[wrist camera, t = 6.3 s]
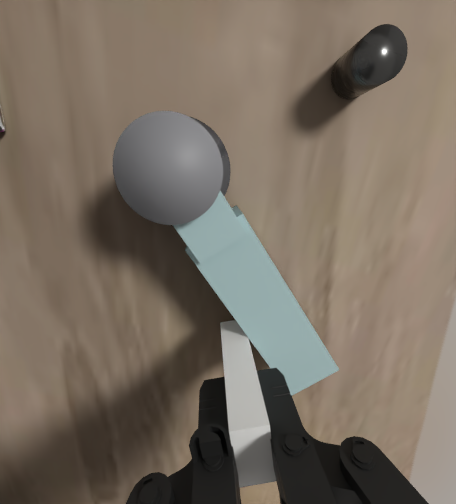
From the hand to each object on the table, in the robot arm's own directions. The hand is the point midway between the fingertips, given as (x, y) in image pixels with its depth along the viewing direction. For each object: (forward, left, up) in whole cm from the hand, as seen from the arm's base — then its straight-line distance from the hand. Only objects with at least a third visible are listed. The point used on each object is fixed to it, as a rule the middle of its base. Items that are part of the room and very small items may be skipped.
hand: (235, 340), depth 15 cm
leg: (+1, +5, -1) cm, 5 cm away
